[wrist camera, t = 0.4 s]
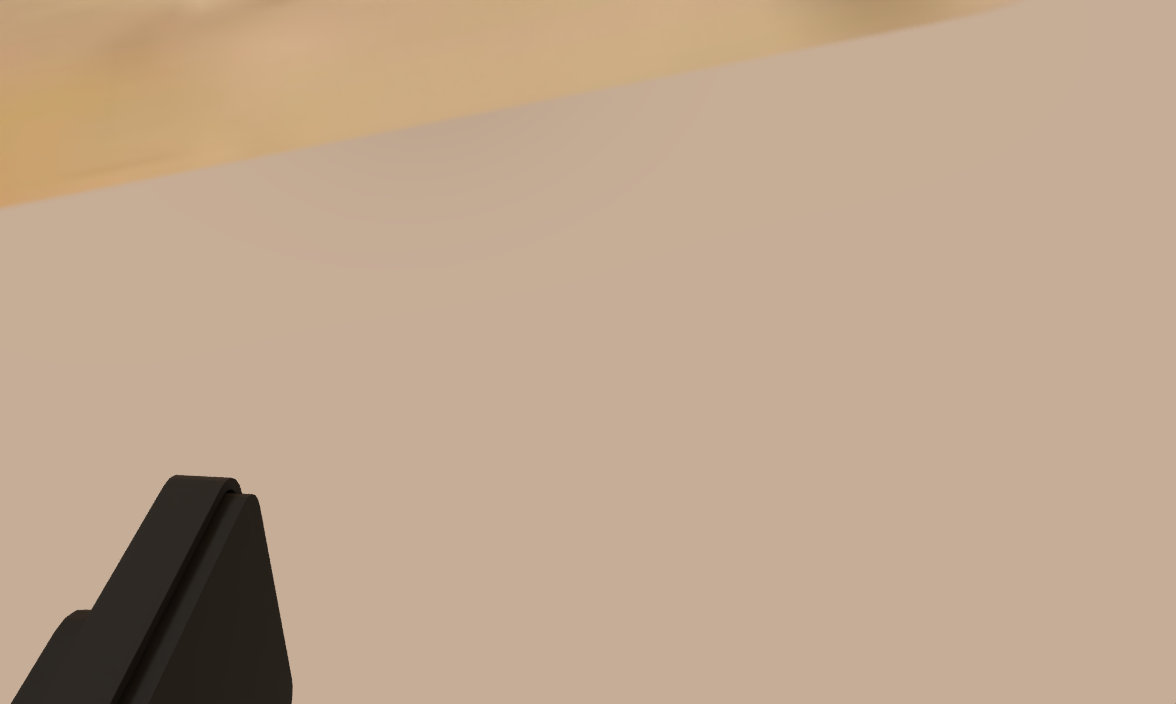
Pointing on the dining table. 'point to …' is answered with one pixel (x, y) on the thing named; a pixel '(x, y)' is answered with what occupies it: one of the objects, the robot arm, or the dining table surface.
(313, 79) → the dining table surface
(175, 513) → the robot arm
